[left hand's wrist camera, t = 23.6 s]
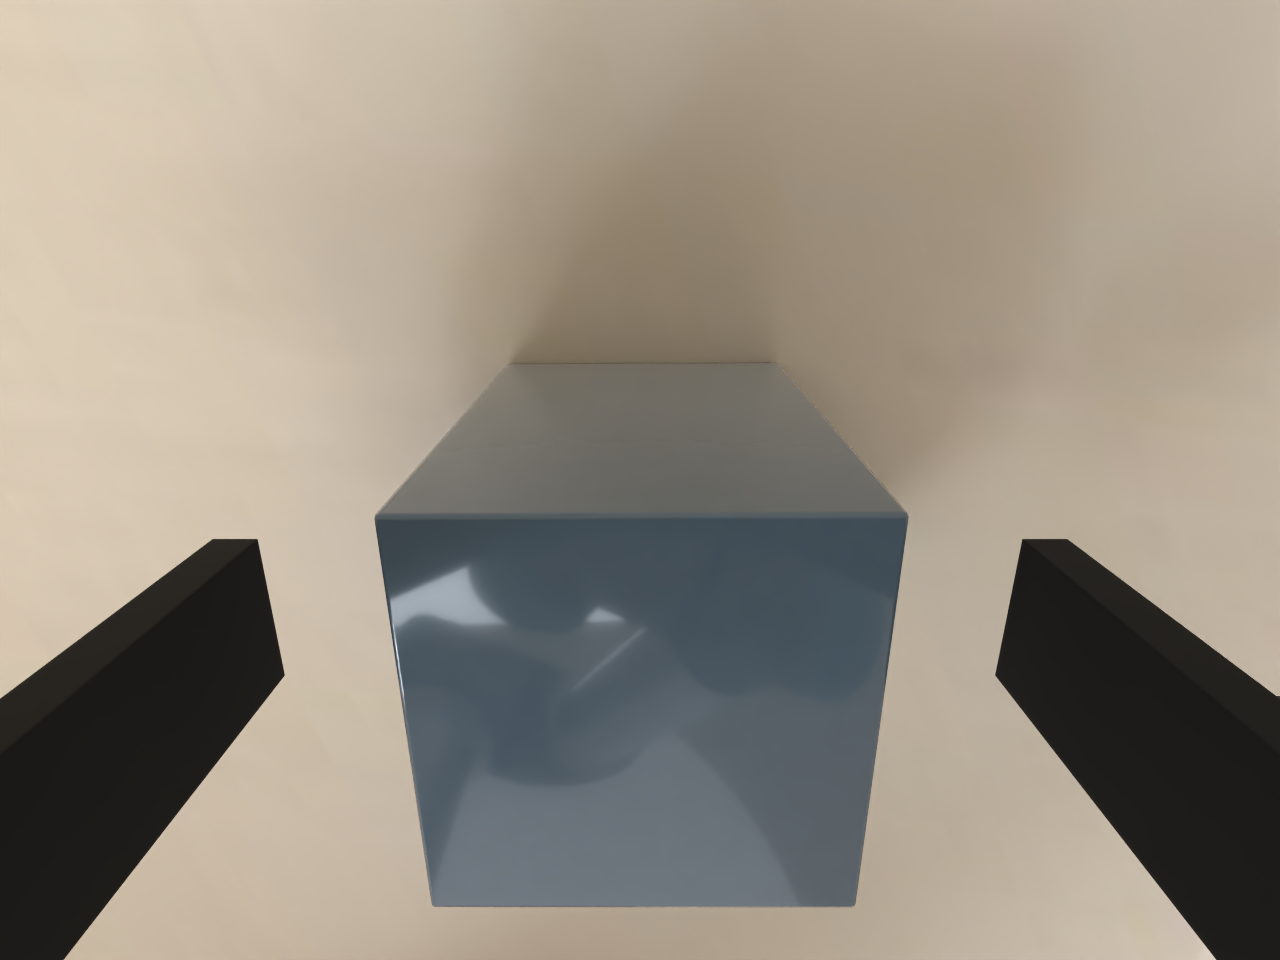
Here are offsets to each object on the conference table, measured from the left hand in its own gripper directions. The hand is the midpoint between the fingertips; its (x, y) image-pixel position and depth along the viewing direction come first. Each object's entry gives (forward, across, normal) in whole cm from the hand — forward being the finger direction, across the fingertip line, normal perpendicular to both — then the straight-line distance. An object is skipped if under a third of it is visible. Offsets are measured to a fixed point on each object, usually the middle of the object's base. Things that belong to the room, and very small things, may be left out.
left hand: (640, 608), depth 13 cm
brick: (+5, 0, 0) cm, 5 cm away
